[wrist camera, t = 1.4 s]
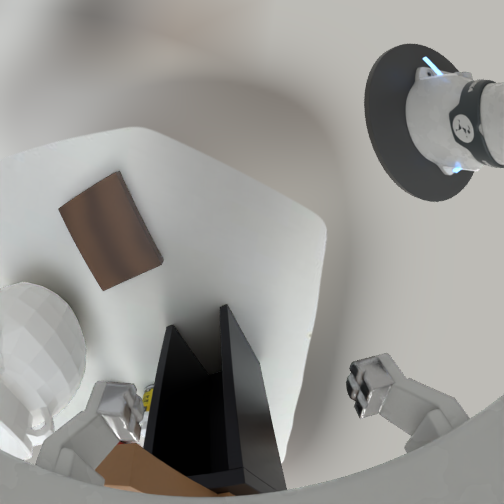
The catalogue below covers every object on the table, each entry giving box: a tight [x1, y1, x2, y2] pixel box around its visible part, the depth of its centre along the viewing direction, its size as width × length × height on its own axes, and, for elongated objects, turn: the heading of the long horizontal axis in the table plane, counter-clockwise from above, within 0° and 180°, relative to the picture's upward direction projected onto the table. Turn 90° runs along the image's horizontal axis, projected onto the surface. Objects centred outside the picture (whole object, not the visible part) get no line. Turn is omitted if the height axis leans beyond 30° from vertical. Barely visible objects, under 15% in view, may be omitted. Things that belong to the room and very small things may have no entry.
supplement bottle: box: [140, 385, 154, 437], centre depth 40 cm, size 5×5×10 cm
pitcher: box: [0, 282, 86, 460], centre depth 25 cm, size 19×18×25 cm
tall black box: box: [143, 305, 287, 496], centre depth 29 cm, size 10×13×26 cm
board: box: [59, 171, 163, 291], centre depth 32 cm, size 10×13×2 cm
